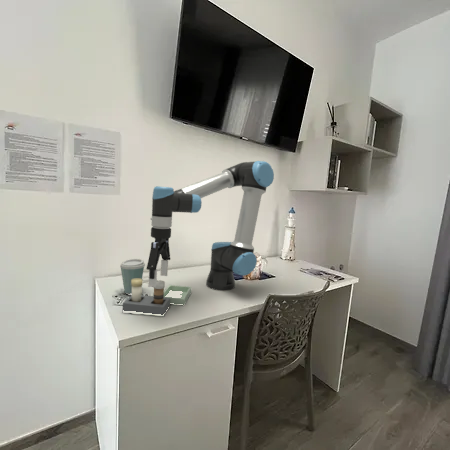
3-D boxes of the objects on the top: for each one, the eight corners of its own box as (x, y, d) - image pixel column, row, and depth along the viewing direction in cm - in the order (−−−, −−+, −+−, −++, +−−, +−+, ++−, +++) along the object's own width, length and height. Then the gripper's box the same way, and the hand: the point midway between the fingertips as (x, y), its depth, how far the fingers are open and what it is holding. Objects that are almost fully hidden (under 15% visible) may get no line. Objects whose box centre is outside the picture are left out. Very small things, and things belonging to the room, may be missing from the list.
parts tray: (190, 293, 125) (191, 287, 124) (183, 306, 110) (184, 299, 110) (169, 290, 126) (169, 284, 125) (159, 303, 111) (159, 296, 111)
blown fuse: (164, 309, 106) (166, 280, 105) (161, 314, 102) (162, 284, 101) (154, 308, 107) (155, 279, 105) (151, 312, 102) (152, 283, 101)
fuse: (143, 307, 107) (144, 278, 106) (139, 311, 103) (140, 282, 101) (133, 306, 107) (134, 277, 106) (128, 310, 103) (129, 281, 102)
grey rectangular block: (169, 307, 109) (170, 297, 108) (163, 317, 100) (163, 307, 99) (132, 303, 110) (132, 294, 109) (122, 312, 101) (122, 303, 100)
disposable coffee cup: (129, 299, 113) (130, 265, 111) (114, 293, 119) (114, 260, 117) (148, 292, 122) (150, 261, 120) (133, 286, 128) (134, 256, 126)
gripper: (162, 223, 113) (159, 270, 115) (138, 230, 88) (135, 291, 91) (179, 224, 112) (176, 272, 115) (160, 232, 88) (157, 293, 90)
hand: (158, 280), depth 103 cm, fingers open, 13 cm apart
